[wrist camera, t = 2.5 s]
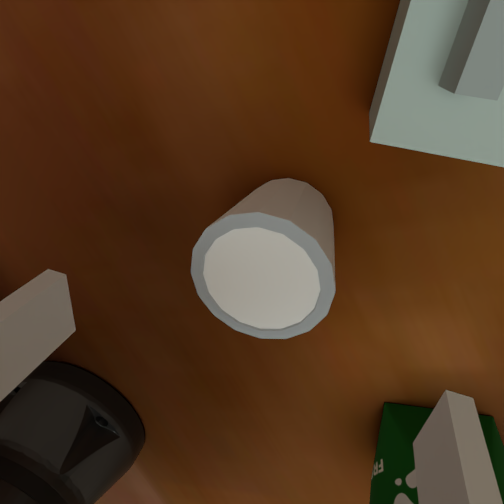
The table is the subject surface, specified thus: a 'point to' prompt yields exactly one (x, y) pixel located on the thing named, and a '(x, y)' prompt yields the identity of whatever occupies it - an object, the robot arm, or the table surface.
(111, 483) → the robot arm
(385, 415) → the milk carton
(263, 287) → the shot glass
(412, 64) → the portable stove
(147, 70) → the table surface
